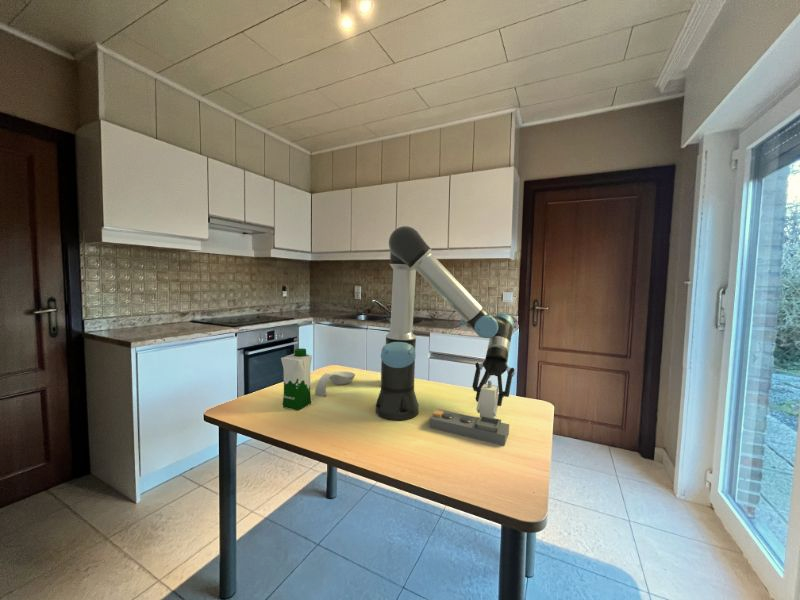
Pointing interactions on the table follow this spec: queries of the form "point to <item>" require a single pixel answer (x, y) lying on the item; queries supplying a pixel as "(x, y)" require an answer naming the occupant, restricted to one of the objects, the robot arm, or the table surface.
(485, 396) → the white block with knob
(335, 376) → the grey ladle
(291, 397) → the milk carton
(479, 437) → the power strip
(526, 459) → the table surface
